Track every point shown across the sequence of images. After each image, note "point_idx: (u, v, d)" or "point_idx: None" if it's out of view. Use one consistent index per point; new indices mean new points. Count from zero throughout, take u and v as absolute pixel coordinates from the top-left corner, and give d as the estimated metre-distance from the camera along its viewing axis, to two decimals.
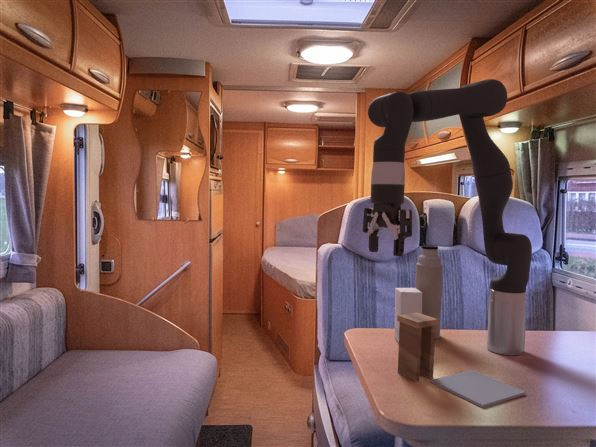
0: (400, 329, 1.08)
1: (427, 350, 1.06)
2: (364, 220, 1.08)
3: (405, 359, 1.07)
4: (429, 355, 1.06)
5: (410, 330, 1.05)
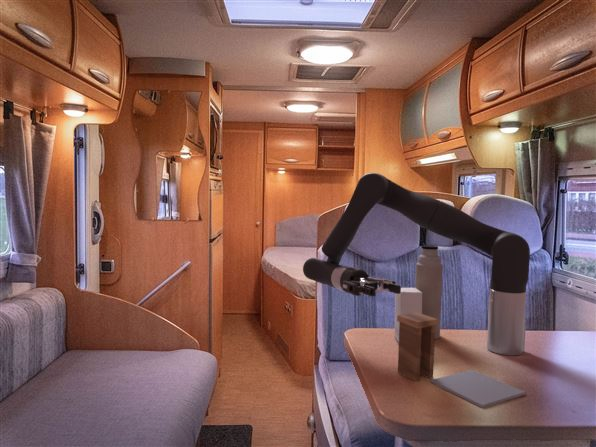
0: (400, 329, 1.08)
1: (427, 350, 1.06)
2: None
3: (405, 359, 1.07)
4: (429, 355, 1.06)
5: (410, 330, 1.05)
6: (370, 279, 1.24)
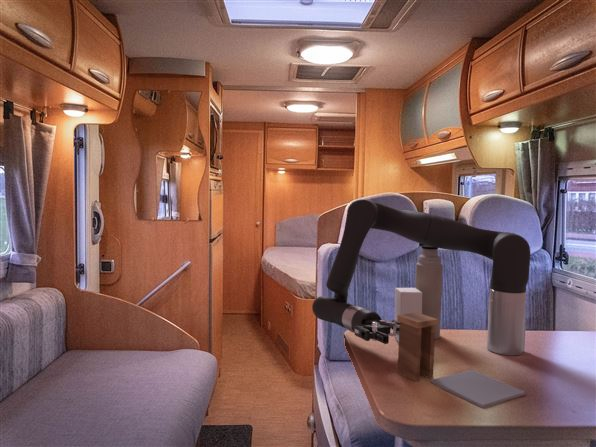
0: (400, 329, 1.08)
1: (427, 350, 1.06)
2: None
3: (405, 359, 1.07)
4: (429, 355, 1.06)
5: (410, 330, 1.05)
6: (382, 322, 1.20)
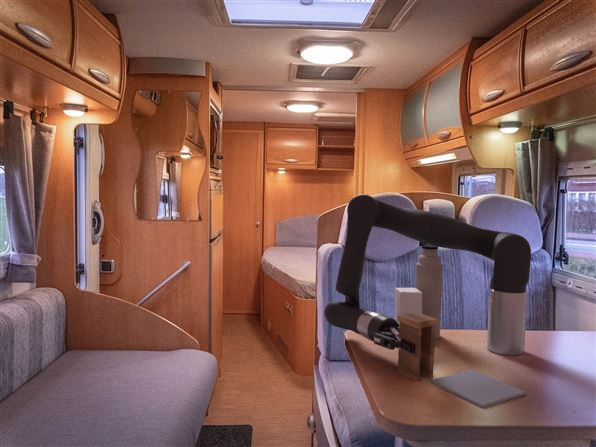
0: (400, 329, 1.08)
1: (426, 350, 1.06)
2: None
3: (405, 359, 1.07)
4: (429, 355, 1.06)
5: (410, 330, 1.05)
6: None
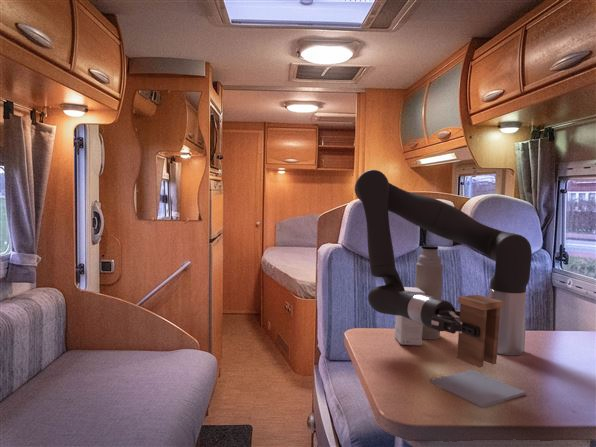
0: (461, 312, 1.01)
1: (490, 334, 0.99)
2: None
3: (466, 344, 0.99)
4: (493, 340, 0.98)
5: (474, 312, 0.98)
6: (458, 313, 1.06)
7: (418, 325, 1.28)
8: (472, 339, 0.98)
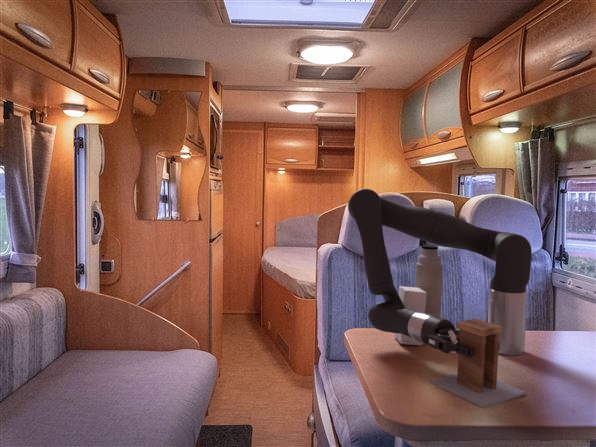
0: (460, 337, 1.01)
1: (489, 359, 0.99)
2: None
3: (466, 369, 0.99)
4: (492, 365, 0.99)
5: (473, 338, 0.98)
6: None
7: None
8: (472, 365, 0.98)
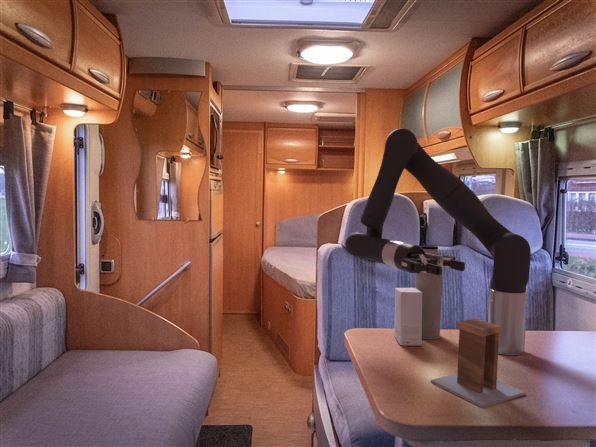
0: (460, 337, 1.01)
1: (489, 359, 0.99)
2: None
3: (466, 369, 0.99)
4: (492, 365, 0.99)
5: (473, 338, 0.98)
6: (429, 255, 1.15)
7: (417, 325, 1.28)
8: (472, 365, 0.98)
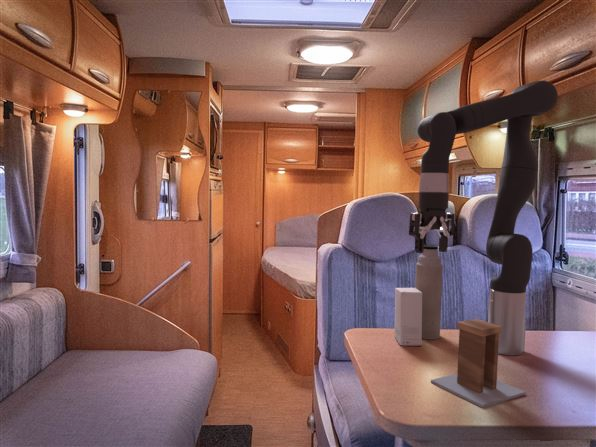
0: (460, 337, 1.01)
1: (489, 359, 0.99)
2: None
3: (466, 369, 0.99)
4: (492, 365, 0.99)
5: (473, 338, 0.98)
6: (439, 221, 1.18)
7: (417, 325, 1.28)
8: (472, 365, 0.98)
